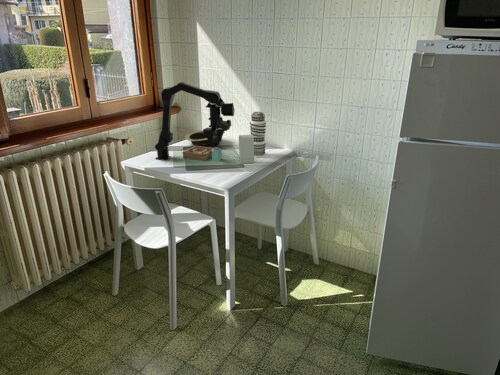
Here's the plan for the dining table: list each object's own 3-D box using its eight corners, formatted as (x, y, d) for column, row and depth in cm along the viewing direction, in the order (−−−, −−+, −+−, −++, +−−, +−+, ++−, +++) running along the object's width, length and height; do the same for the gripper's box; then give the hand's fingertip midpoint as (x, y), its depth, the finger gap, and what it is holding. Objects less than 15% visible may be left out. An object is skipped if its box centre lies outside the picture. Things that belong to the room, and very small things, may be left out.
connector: (218, 161, 215) (218, 149, 212) (212, 160, 216) (211, 148, 214) (221, 159, 218) (221, 147, 216) (215, 158, 220) (215, 146, 217)
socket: (203, 156, 221) (202, 151, 220) (192, 155, 224) (191, 150, 223) (207, 154, 225) (207, 149, 224) (196, 153, 228) (196, 148, 227)
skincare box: (254, 160, 216) (253, 134, 211) (254, 163, 211) (254, 137, 205) (239, 160, 216) (238, 134, 211) (239, 163, 211) (238, 137, 205)
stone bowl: (231, 142, 251) (230, 128, 247) (208, 155, 232) (207, 140, 228) (201, 137, 263) (200, 123, 259) (177, 148, 244) (175, 134, 240)
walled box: (204, 160, 216) (203, 154, 215) (183, 157, 221) (182, 151, 220) (216, 153, 228) (215, 148, 227) (195, 151, 233) (195, 145, 232)
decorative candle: (263, 158, 220) (263, 114, 210) (248, 156, 222) (247, 113, 213) (267, 153, 228) (268, 111, 218) (253, 152, 230) (252, 110, 221)
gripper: (220, 120, 197) (221, 149, 203) (236, 113, 213) (236, 141, 219) (201, 118, 201) (203, 147, 207) (218, 112, 217) (219, 139, 223)
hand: (216, 143), depth 214 cm, fingers open, 9 cm apart
